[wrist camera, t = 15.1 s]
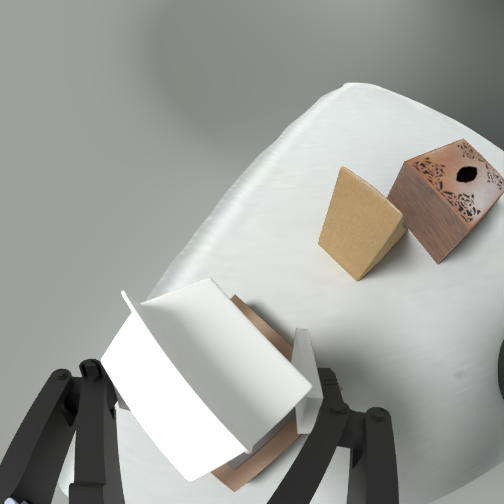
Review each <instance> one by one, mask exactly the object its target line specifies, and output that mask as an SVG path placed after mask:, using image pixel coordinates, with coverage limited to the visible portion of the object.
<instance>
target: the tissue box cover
mask: <svg viewBox="0 0 504 504" xmlns="http://www.w3.org/2000/svg"><path fill="white" fill-rule="evenodd" d="M503 193H504V179H503V177H502V176H501V175H500V174H499V173H498V172H497V171H496V170H495V169H494V168H493V167H492V166H491V165H490V164H489V163H488V162H487V161H486V160H485V159H484V158H483V157H482V156H481V155H480V154H479V153H478V152H477V151H476V150H475V149H474V148H473V147H472V146H471V145H470V144H469V143H468V142H467V141H465V140H464V139H461V140H459V141H456V142H453V143H451V144H448V145H446V146H443V147H440V148H438V149H435V150H433V151H430V152H427V153H425V154H422V155H420V156H417V157H415V158H412V159H410V160H407V161H405V162H404V164H403V166H402V168H401V170H400V172H399V174H398V176H397V178H396V180H395V183H394V185H393V187H392V189H391V191H390V193H389V195H388V197H387V199H388V200H389V201H390V202H391V203H392V204H393V205H394V206H395V207H396V208H397V209H398V210H399V211H400V212H401V213H402V214H403V216H404V222H405V224H406V226H407V228H408V229H409V230H410V231H411V232H412V233H413V235H414V236H415V237H416V238H417V239H418V241H419V242H420V243H421V244H422V245H423V247H424V248H425V249H426V250H427V252H428V253H429V254H430V255H431V257H432V258H433V259H434V260H435V262H436V263H437V264H439V263H440V262H441V261H442V260H443V259H444V258H445V257H446V256H447V255H448V254H449V253H450V252H451V251H452V250H453V249H454V248H455V247H456V246H457V245H458V244H459V243H460V242H461V241H462V240H463V239H464V238H465V237H466V236H467V235H468V234H469V233H470V232H471V231H472V230H473V229H474V228H475V227H476V226H477V224H478V223H479V222H480V221H481V220H482V219H483V218H484V217H485V216H486V214H487V213H488V212H489V211H490V210H491V208H492V207H493V206H494V205H495V203H496V202H497V201H498V199H499V198H500V197H501V195H502V194H503Z"/></svg>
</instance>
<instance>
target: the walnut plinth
mask: <svg viewBox="0 0 504 504" xmlns="http://www.w3.org/2000/svg"><path fill="white" fill-rule="evenodd" d="M230 300H231V301H232V302H233V303H234V304H235V305H236V306H237V307H238V308H239V309H240V311H241V312H242V313H243V314H244V315H245V316H246V317H247V318H248V319H249V320H250V321H251V322H252V323H253V324H254V326H255V327H256V328H257V329H258V330H259V331H260V332H261V333H262V334H263V335H264V336H265V337H266V338H267V339H268V340H269V341H270V342H271V343H272V344H273V345H274V347H275V348H276V349H277V350H278V351H279V352H280V353H281V354H282V355H283V356H284V357H285V358H286V359H287V360H288V361H289V362H290V363H291V360H292V353H293V346H291V345H290V344H289V343H288V342H287V341H286V340H285V339H283V338H282V337H281V336H280V335H279V334H278V333H277V332H276V331H275V330H273V329H272V328H271V327H270V326H269V325H268V324H267V323H266V322H265V321H263V320H262V319H261V318H260V317H259V316H258V315H257V314H256V313H255V312H254V311H252V310H251V309H250V308H249V307H248V306H247V305H246V304H245V303H244V302H243V301H242V300H241V299H240V298H238V297H237V296H236V295H234V296H233V297H232V298H231V299H230ZM339 389H340V391H341V390H342V388H341V387H339ZM300 435H301V434H298V432H297V420H296V408H295V407H294V408H293V409H292V410H291V411H290V412H289V413H288V414H287V415H286V416H285V417H284V418H283V419H282V420H281V421H280V422H279V423H277V424H276V425H275V426H274V427H273V428H272V429H271V430H270V431H269V432H268V433H267V434H266V435H265V436H263V437H262V438H261V439H260V440H259V441H258V442H257V443H256V444H254V445H253V448H252V453H250V454H247V453H245V452H243V453H242V454H240V455H238V456H237V457H235V458H233V459H232V460H230V461H228V462H227V463H225V464H223V465H222V466H220V467H218V468H216V469H215V470H213V471H211V473H212V474H213V475H214V476H215V477H217V478H218V479H219V480H220V481H221V482H222V483H224V484H225V485H226V486H227V487H229V488H230V489H231V490H232V491H233V492H235V491H237V490H238V489H239V488H241V487H242V486H243V485H245V484H246V483H247V482H248V481H250V480H251V479H252V478H253V477H254V476H256V475H257V474H258V473H259V472H260V471H262V470H263V469H264V468H265V467H266V466H268V465H269V464H270V463H271V462H272V461H273V460H274V459H275V458H277V457H278V456H279V455H280V454H281V453H282V452H283V451H284V450H285V449H286V448H287V447H288V446H289V445H290V444H292V443H293V442H294V441H295V440H296V439H297V438H298V437H299V436H300Z"/></svg>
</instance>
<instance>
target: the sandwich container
mask: <svg viewBox="0 0 504 504" xmlns="http://www.w3.org/2000/svg"><path fill="white" fill-rule="evenodd" d="M407 230H408V228H407V226H406V224H405V222H404V216H403V214H402V213H401V212H400V211H399V210H398V209H397V208H396V207H395V206H394V205H393V204H392V203H391V202H390V201H389V200H388V199H387V198H385V197H384V196H383V195H382V194H381V193H380V192H379V191H378V190H377V189H376V188H374V187H373V186H372V185H370V184H369V183H367V182H366V181H365V180H363V179H362V178H360V177H359V176H357V175H356V174H354V173H353V172H352V171H350V170H349V169H347V168H345V167H341V168H340V171H339V175H338V178H337V182H336V185H335V189H334V192H333V196H332V199H331V202H330V206H329V209H328V212H327V215H326V219H325V222H324V225H323V228H322V232H321V235H320V238H319V242H318V244H319V245H320V246H321V247H322V248H323V249H324V250H325V251H326V252H327V253H328V254H329V255H330V256H331V257H332V258H333V259H334V260H335V261H336V262H337V263H338V264H339V265H340V266H341V267H342V268H344V269H345V270H346V271H347V272H348V273H349V274H350V275H351V276H352V277H353V278H354V279H355V280H356V281H359V280H360V279H361V278H362V277H363V276H364V275H366V274H367V273H368V272H369V271H370V270H371V269H372V268H373V267H374V266H375V265H376V264H377V263H378V262H379V261H381V260H382V259H383V257H384V256H385V255H386V254H387V253H388V252H389V251H390V250H391V248H392V247H393V246H394V245H395V244H396V243H397V242H398V241H399V239H400V238H401V237H402V236H403V235H404V234H405V232H406V231H407Z"/></svg>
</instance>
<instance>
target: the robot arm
mask: <svg viewBox="0 0 504 504" xmlns="http://www.w3.org/2000/svg"><path fill="white" fill-rule="evenodd" d="M291 364H292V365H293V366H294V367H295V368H296V369H297V370H298V371H299V372H300V373H301V374H302V375H303V376H304V377H305V378H306V379H307V380H308V381H309V382H310V383H311V384H312V385H313V387H312V389H311V390H310V391H309V392H308V393H307V394H306V395H305V396H304V397H303V398H302V400H301V401H300V402H299V403H298V404H297V405H296V406H295V408H296V420H297V432H298V434H310V435H309V437H308V438H307V440H306V442H305V444H304V446H303V447H302V449H301V451H300V453H299V454H298V456H297V458H296V459H295V461H294V463H293V464H292V466H291V468H290V469H289V471H288V472H287V474H286V476H285V477H284V479H283V480H282V482H281V483H280V485H279V486H278V488H277V489H276V491H275V492H274V494H273V495H272V497H271V498H270V500H269V501H268V502H267V504H309V503H310V501H311V499H312V497H313V496H314V494H315V492H316V490H317V488H318V486H319V484H320V482H321V480H322V478H323V476H324V474H325V472H326V470H327V467H328V465H329V463H330V461H331V459H332V456H333V454H334V452H335V449H336V447H337V446H340V447H346V448H350V468H349V483H348V495H347V504H399V493H398V477H397V464H396V454H395V445H394V437H393V430H392V422H391V416H390V414H389V412H388V411H387V410H385V409H383V408H380V407H373V408H370V409H368V411H367V412H366V413H362V412H356V411H353V410H350V408H349V406H348V405H347V404H346V403H344V402H343V399H342V396H341V393H340V389H339V386H338V382H337V379H336V376H335V373H334V372H333V371H332V370H331V369H330V368H317V367H316V362H315V358H314V354H313V349H312V345H311V341H310V337H309V333H308V329H296V333H295V340H294V347H293V353H292V360H291ZM79 368H80V371H81V374H82V377H72V375H71V372H70V371H69V370H67V369H58V370H56V371H54V372H53V373H52V374H51V376H50V377H49V379H48V380H47V382H46V384H45V385H44V387H43V388H42V390H41V391H40V393H39V395H38V396H37V398H36V399H35V401H34V403H33V404H32V406H31V408H30V409H29V411H28V413H27V415H26V416H25V418H24V420H23V422H22V423H21V425H20V427H19V429H18V431H17V433H16V434H15V436H14V438H13V440H12V442H11V444H10V446H9V448H8V450H7V452H6V454H5V456H4V458H3V460H2V462H1V465H0V504H51V501H52V498H53V495H54V491H55V488H56V485H57V481H58V478H59V475H60V472H61V469H62V466H63V463H64V460H65V458H66V455H67V452H68V449H69V446H70V444H71V441H72V438H73V436H74V433H75V431H76V442H75V466H74V483H70V485H69V504H125V501H124V495H123V488H122V481H121V474H120V465H119V455H118V443H117V426H116V409H115V406H114V405H115V404H116V402H117V401H118V404H119V407H120V408H122V409H126V410H129V411H131V410H130V409H129V407H128V406H127V404H126V403H125V401H124V400H123V398H122V396H121V395H120V393H119V392H118V390H117V389H116V387H115V385H114V384H113V382H112V380H111V379H110V377H109V375H108V374H107V372H106V370H105V368H104V367H103V365H102V364H101V362H100V361H98V360H96V359H88V360H84V361H83V362H81V363H80V365H79ZM498 378H499V386H500V390H501V394H502V396H503V399H504V341H503V344H502V347H501V350H500V355H499V363H498Z"/></svg>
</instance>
